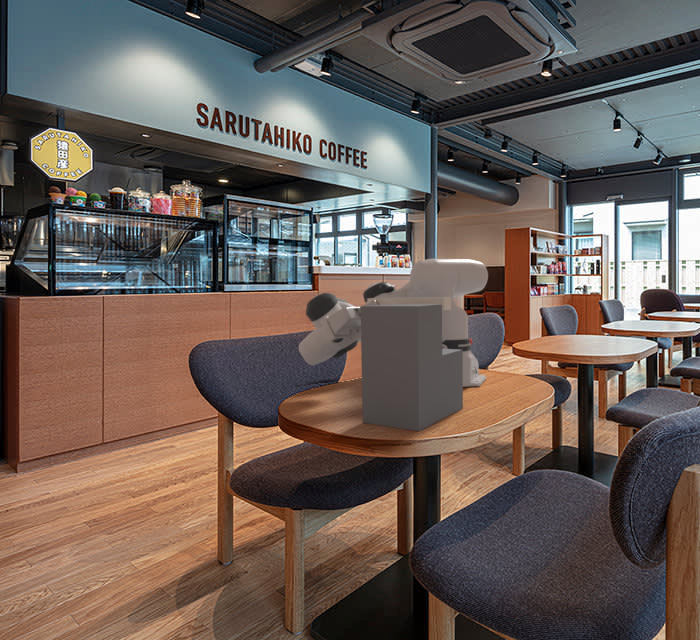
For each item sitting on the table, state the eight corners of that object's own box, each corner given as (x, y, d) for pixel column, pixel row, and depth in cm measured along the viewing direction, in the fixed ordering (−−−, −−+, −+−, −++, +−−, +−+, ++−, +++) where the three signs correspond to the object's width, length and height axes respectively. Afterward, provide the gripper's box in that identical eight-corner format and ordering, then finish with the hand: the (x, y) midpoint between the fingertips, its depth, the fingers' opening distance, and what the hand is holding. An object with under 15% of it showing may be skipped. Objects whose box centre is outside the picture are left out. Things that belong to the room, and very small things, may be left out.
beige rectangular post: (375, 309, 132) (375, 298, 132) (451, 309, 120) (451, 297, 120) (367, 310, 129) (367, 298, 129) (444, 310, 117) (443, 297, 117)
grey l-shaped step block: (412, 402, 133) (410, 303, 131) (462, 408, 125) (462, 302, 124) (362, 422, 113) (360, 306, 112) (419, 431, 105) (417, 306, 104)
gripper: (370, 335, 143) (407, 311, 136) (326, 342, 127) (366, 315, 120) (360, 316, 145) (397, 291, 138) (316, 320, 128) (355, 292, 121)
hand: (382, 302), depth 129 cm, fingers closed on beige rectangular post, 4 cm apart
